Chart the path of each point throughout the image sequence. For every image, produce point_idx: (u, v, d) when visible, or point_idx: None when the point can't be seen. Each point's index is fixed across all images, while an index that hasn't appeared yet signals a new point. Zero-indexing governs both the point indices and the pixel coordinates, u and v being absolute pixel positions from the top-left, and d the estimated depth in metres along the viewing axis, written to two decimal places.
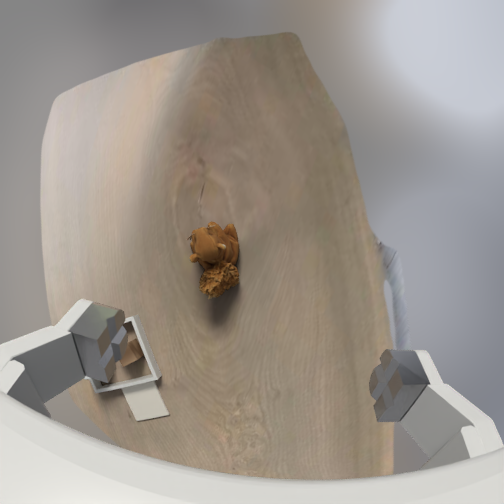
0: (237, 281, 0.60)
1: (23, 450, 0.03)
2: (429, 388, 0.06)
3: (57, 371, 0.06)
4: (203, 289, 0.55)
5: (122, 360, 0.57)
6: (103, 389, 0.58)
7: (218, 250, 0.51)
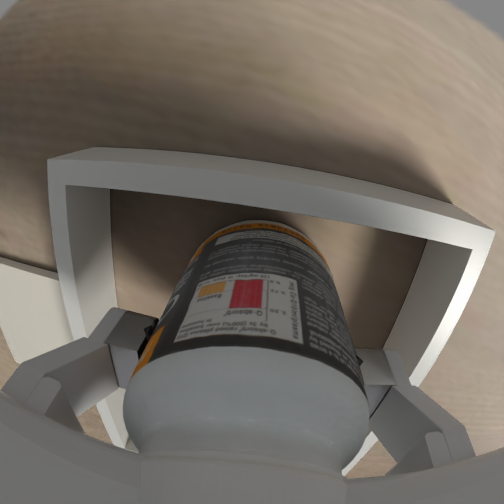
0: None
1: (23, 450, 0.03)
2: (394, 389, 0.07)
3: (91, 384, 0.06)
4: None
5: None
6: (64, 241, 0.09)
7: None
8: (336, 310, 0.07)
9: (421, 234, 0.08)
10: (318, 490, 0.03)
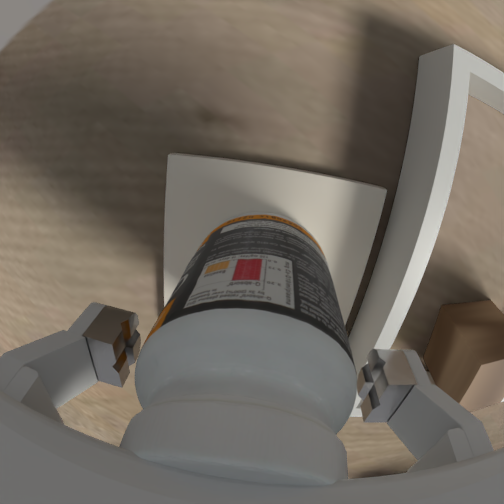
0: None
1: (23, 450, 0.03)
2: (416, 388, 0.06)
3: (70, 376, 0.06)
4: None
5: (494, 371, 0.10)
6: (458, 119, 0.08)
7: None
8: (327, 288, 0.08)
9: None
10: (306, 431, 0.04)
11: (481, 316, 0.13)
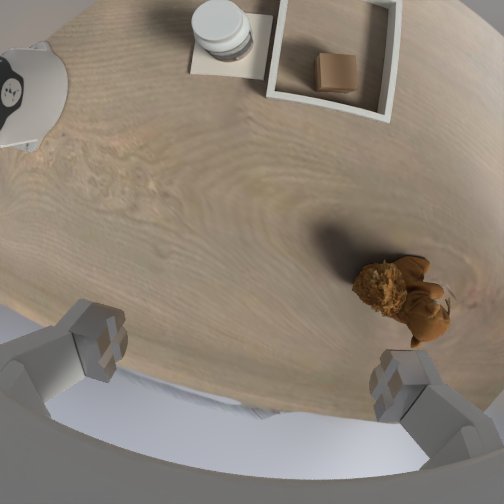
0: (355, 291, 0.40)
1: (23, 450, 0.03)
2: (429, 388, 0.06)
3: (57, 371, 0.06)
4: (389, 273, 0.33)
5: (332, 59, 0.26)
6: None
7: (415, 336, 0.32)
8: None
9: None
10: None
11: None
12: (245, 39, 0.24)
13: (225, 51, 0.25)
